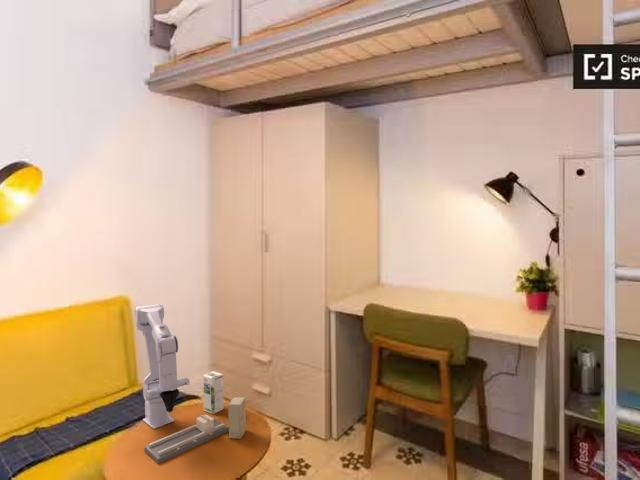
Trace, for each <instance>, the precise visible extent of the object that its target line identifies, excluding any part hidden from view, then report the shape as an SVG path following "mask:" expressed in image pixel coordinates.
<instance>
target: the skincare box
mask: <svg viewBox="0 0 640 480" xmlns="http://www.w3.org/2000/svg"><path fill="white" fill-rule="evenodd" d="M227 411H228V427H229V431H228V437H229V439H242V438H243V436H244V434H246V433H245V432H246V431H247V415H246V411H247V410H246V397H243V396H242V397H241V396H234V397H233V398H231V400H230V401H229V402H228V404H227Z"/></svg>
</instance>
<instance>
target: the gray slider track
mask: <svg viewBox="0 0 640 480" xmlns="http://www.w3.org/2000/svg"><path fill="white" fill-rule="evenodd" d="M211 418H213V419H214V428H211V429H209V430H207V431H204V432H202V431H200V430H199V429H197V427H196V424H193V425H191V426H188V427H187V428H183V429H181V430H180V431H177V432H174V433H172V434H170V435H167V436H165V437H162V438H160V439H157V440H155V441H153V442H151V443H149V444H148V445H145V446H144V448H143V449H144V452H145V453H146V454H147V455H148V456H149V457H150V458H152V460H154V461H155V462H156V464H160V463H163V462H165V461H167V460H169V459H172V458H174V457H176V456H178V455H180V454H182V453H184V452H186V450H187V451H189V450H190V449H193V448H195V447H197V446H200V445H202V444H204V443H206V442H209V441H211V440H212V439H215V438H217V437H219V436H222V435H223V434H225V433H226V434H227V433H229V425H226V424H225V423H223V422H222V421H220V420H218V419H217V418H215V417H214V416H213V417H211ZM188 449H189V450H188Z"/></svg>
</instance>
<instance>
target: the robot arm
mask: <svg viewBox="0 0 640 480" xmlns="http://www.w3.org/2000/svg"><path fill="white" fill-rule="evenodd" d="M164 317H165V308H164V305H163V304H162V303H159V304H157V303H156V304H152V305H150V304H149V305H143V306H136V308H134V320H135V327H136V329H137V330H138V331H140V332H141V333H142V335H143V341H144V346H145V353H146V360H147V366H148V373H149V374H148V375H147V376H146V377H145V378H144V379H143V381H142V395H143V399H144V401H145V402H144V410H145V411H144V415H145V418H143V419H142V421H143V422H144V423H146V424H147V425H148V426H149V427H150V428H152V429H153V430H155V429H158V428H160V427H162V426H165V425H167V424H170V423H173V422H174V421H175V419H174V418H172V416H170V413H171V412H173V411H174V407H175V406H174V405H175V402H176V399H177V397H178V395H179V393H180V391H179V390H180V389H178V388H181V387H184V386H189V385H190V379H189V378H188V377H185V378H180V379H178V372H177V371H178V369H177V365H178V364H177V353H178V352H179V341H178V337H177V335H175V334H172V333H171V331H170V328H169V327H168V326H167V325H166V324H164V322H163V321H164Z"/></svg>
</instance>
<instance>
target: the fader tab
mask: <svg viewBox="0 0 640 480" xmlns="http://www.w3.org/2000/svg"><path fill="white" fill-rule="evenodd" d="M195 421H196V422H195V423H196V424H195V425H196V427H197V429H199V430H200V431H202V432H204V431H207V430H209V429H211V428H214V419H213V418H212V417H211V416H210V415H208V414H207V413H206V414H204V413H203V414H200V415H199V416H198V417H196V419H195Z"/></svg>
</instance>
